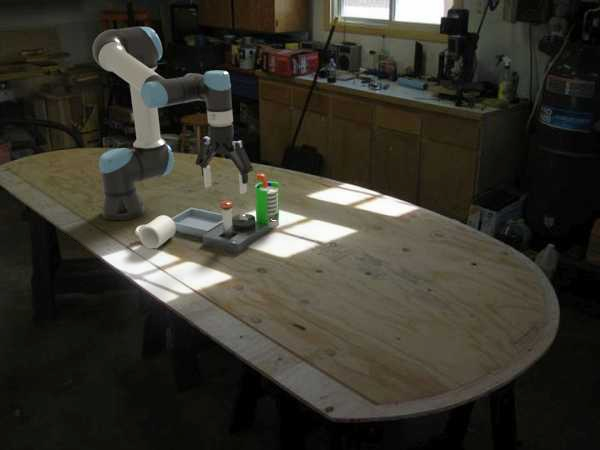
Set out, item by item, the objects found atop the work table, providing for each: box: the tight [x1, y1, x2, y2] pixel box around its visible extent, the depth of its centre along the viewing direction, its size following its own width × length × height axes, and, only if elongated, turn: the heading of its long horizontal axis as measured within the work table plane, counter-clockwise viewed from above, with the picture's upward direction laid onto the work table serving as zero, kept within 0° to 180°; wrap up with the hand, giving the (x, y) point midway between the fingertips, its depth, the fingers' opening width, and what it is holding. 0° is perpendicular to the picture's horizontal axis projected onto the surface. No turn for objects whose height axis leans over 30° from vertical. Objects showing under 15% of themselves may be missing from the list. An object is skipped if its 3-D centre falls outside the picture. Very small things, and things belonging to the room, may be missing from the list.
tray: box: [170, 207, 223, 239], centre depth 211 cm, size 18×14×3 cm
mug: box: [134, 215, 177, 250], centre depth 199 cm, size 12×10×8 cm
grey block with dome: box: [202, 213, 269, 254], centre depth 201 cm, size 14×18×7 cm
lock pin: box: [219, 200, 233, 239], centre depth 196 cm, size 4×4×14 cm
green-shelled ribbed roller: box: [254, 173, 280, 229], centre depth 209 cm, size 9×8×18 cm
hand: (225, 189), depth 191 cm, fingers open, 13 cm apart
